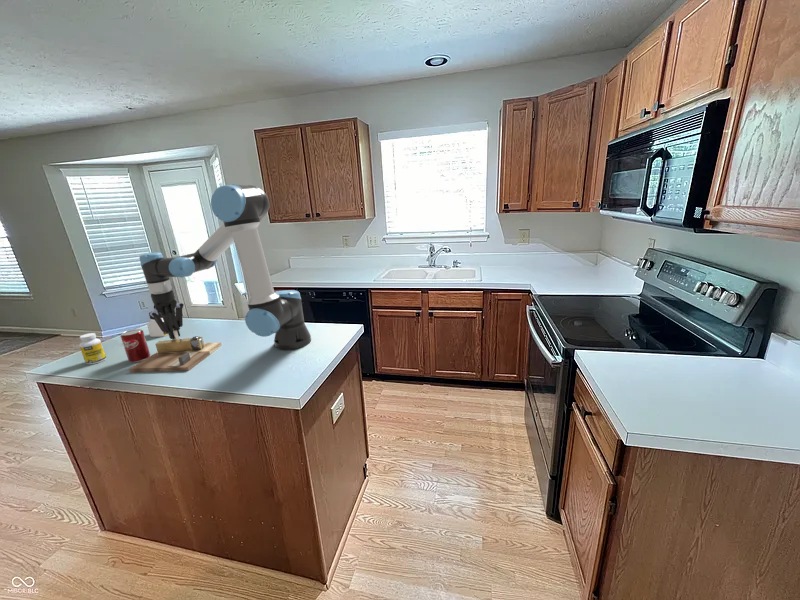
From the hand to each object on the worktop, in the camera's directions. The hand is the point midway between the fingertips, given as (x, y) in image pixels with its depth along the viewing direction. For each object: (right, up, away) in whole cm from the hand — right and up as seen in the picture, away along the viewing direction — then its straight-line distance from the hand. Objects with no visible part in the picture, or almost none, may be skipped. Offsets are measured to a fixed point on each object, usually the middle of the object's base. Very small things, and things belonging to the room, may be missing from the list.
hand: (177, 344), depth 141 cm
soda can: (-13, -5, -4) cm, 14 cm away
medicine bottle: (-22, +2, +22) cm, 31 cm away
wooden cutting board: (+4, -5, -5) cm, 8 cm away
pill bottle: (-31, -6, -4) cm, 31 cm away
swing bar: (+3, -2, -2) cm, 4 cm away
